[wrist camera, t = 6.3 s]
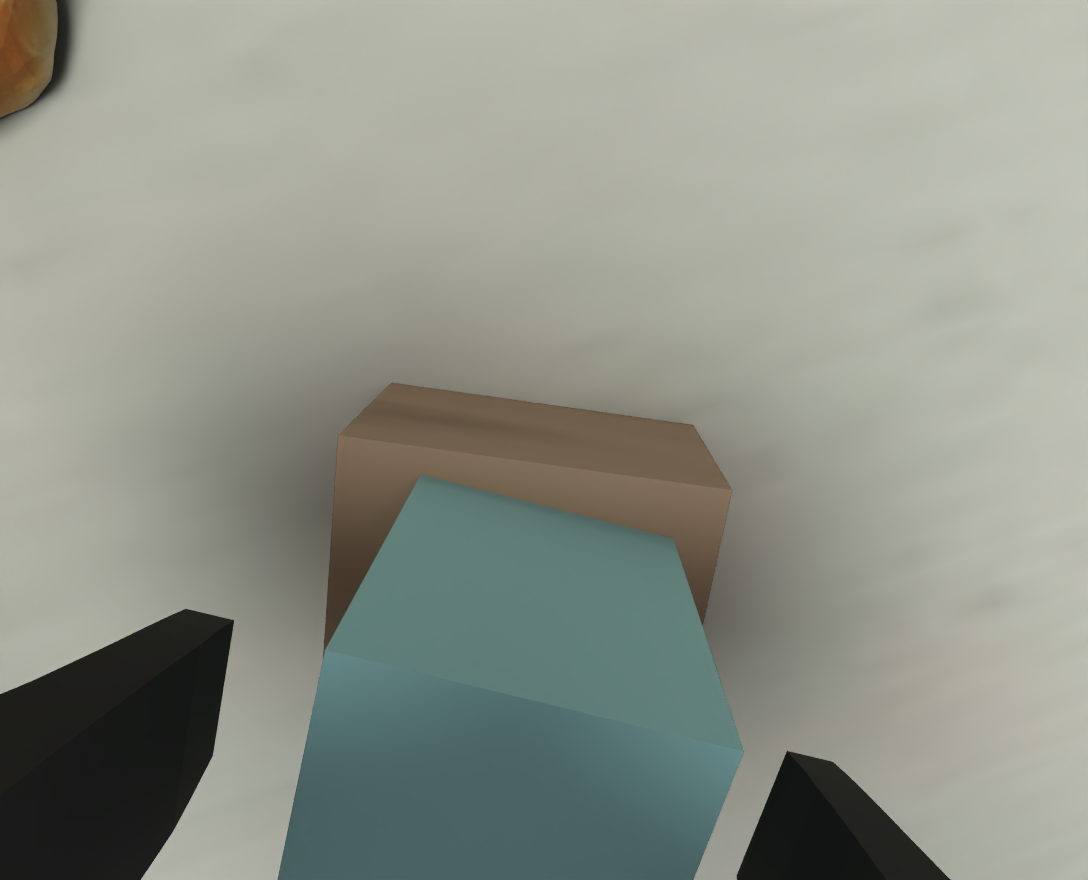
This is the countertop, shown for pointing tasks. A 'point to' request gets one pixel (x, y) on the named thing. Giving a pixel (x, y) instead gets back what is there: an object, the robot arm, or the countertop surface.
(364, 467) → the walnut block
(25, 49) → the pastry
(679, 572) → the teal block
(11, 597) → the countertop surface
